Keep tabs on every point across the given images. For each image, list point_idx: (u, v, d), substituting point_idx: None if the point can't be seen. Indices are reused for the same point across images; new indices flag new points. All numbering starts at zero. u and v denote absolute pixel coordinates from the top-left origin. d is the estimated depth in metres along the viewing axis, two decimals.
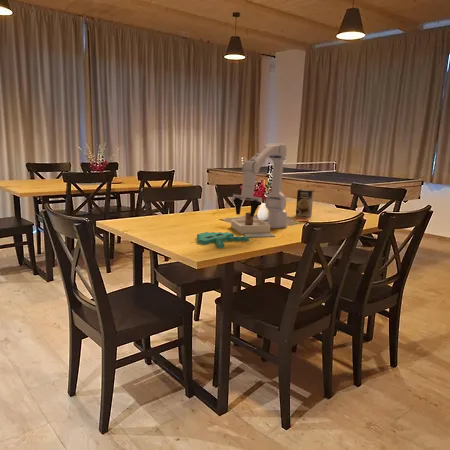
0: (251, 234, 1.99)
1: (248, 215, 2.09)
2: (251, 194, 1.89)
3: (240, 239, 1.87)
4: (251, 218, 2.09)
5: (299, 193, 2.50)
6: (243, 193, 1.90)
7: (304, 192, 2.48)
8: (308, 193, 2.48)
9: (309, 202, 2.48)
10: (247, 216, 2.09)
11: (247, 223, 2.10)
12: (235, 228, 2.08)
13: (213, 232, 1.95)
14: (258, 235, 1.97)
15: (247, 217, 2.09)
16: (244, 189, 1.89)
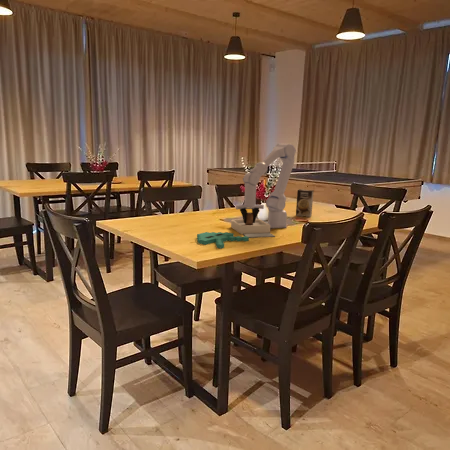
0: (251, 234, 1.99)
1: (248, 215, 2.09)
2: (255, 203, 2.09)
3: (240, 239, 1.87)
4: (251, 218, 2.09)
5: (299, 193, 2.50)
6: (250, 204, 2.07)
7: (304, 192, 2.48)
8: (308, 193, 2.48)
9: (309, 202, 2.48)
10: (247, 216, 2.09)
11: (247, 223, 2.10)
12: (235, 228, 2.08)
13: (213, 232, 1.95)
14: (258, 235, 1.97)
15: (247, 217, 2.09)
16: (251, 200, 2.06)
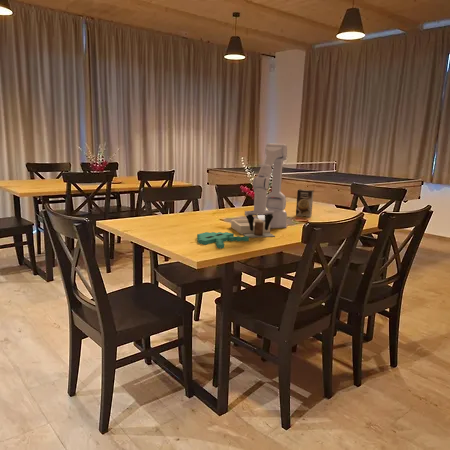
0: (251, 234, 1.99)
1: (258, 225, 1.96)
2: (265, 209, 1.96)
3: (240, 239, 1.87)
4: (261, 228, 1.97)
5: (299, 193, 2.50)
6: (260, 210, 1.93)
7: (304, 192, 2.48)
8: (308, 193, 2.48)
9: (309, 202, 2.48)
10: (257, 226, 1.96)
11: (256, 233, 1.97)
12: (235, 228, 2.08)
13: (213, 232, 1.95)
14: None
15: (257, 227, 1.96)
16: (261, 206, 1.93)
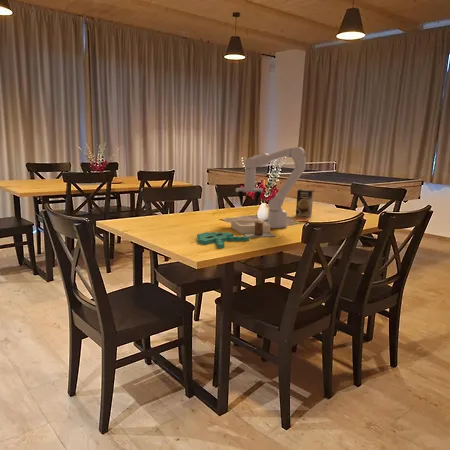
0: (251, 234, 1.99)
1: (257, 225, 1.96)
2: (254, 187, 2.20)
3: (240, 239, 1.87)
4: (261, 228, 1.96)
5: (299, 193, 2.50)
6: (249, 187, 2.18)
7: (304, 192, 2.48)
8: (308, 193, 2.48)
9: (309, 202, 2.48)
10: (256, 226, 1.96)
11: (256, 233, 1.97)
12: (235, 228, 2.08)
13: (213, 232, 1.95)
14: None
15: (256, 227, 1.96)
16: (250, 183, 2.17)
